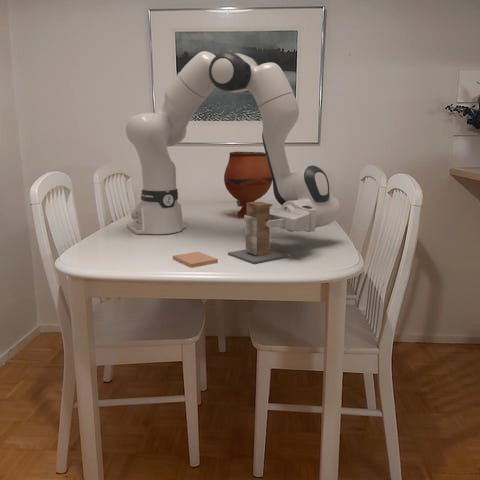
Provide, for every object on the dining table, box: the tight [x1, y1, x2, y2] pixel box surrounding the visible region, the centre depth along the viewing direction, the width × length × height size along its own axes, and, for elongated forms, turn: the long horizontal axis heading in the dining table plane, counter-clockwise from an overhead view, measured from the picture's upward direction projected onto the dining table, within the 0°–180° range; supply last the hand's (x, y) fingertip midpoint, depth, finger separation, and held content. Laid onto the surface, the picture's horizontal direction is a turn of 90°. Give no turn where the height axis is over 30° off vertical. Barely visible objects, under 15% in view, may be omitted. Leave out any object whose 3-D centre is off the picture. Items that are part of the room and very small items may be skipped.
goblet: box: [223, 151, 273, 219], centre depth 192 cm, size 19×19×25 cm
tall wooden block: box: [245, 201, 271, 257], centre depth 134 cm, size 5×5×14 cm
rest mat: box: [227, 248, 290, 265], centre depth 136 cm, size 12×12×1 cm
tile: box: [172, 251, 219, 269], centre depth 131 cm, size 10×2×8 cm
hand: (255, 221), depth 133 cm, fingers open, 8 cm apart
